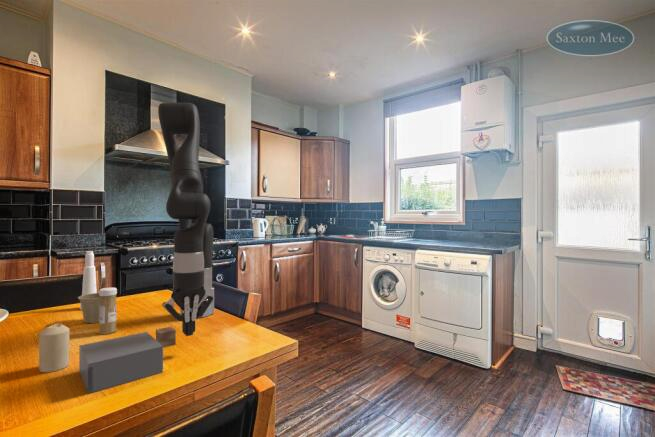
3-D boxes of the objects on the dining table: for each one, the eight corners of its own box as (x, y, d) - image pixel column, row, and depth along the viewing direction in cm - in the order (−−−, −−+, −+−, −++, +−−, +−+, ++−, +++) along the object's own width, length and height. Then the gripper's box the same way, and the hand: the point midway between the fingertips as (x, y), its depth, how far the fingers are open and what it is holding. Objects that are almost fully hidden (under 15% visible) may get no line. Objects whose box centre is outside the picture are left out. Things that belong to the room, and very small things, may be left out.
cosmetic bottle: (91, 310, 126) (91, 252, 126) (75, 310, 126) (76, 252, 126) (102, 306, 132) (102, 250, 132) (87, 306, 132) (87, 250, 132)
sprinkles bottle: (116, 332, 102) (117, 289, 102) (98, 335, 100) (98, 290, 100) (116, 328, 106) (116, 286, 106) (99, 331, 104) (99, 287, 104)
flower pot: (71, 323, 111) (71, 297, 111) (99, 315, 120) (99, 291, 120) (89, 326, 108) (90, 300, 108) (117, 318, 117) (118, 293, 117)
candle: (50, 362, 81) (50, 321, 81) (74, 362, 82) (74, 321, 82) (32, 373, 76) (32, 329, 76) (58, 372, 76) (58, 328, 76)
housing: (146, 355, 86) (146, 331, 86) (162, 372, 77) (162, 346, 77) (79, 371, 77) (79, 345, 77) (88, 393, 67) (88, 364, 67)
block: (170, 340, 96) (170, 326, 96) (175, 344, 93) (175, 330, 93) (155, 343, 94) (155, 329, 94) (160, 348, 91) (160, 333, 91)
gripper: (166, 274, 80) (167, 345, 80) (219, 268, 89) (219, 332, 90) (157, 270, 86) (157, 337, 86) (207, 264, 95) (207, 325, 95)
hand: (188, 334), depth 88 cm, fingers closed
